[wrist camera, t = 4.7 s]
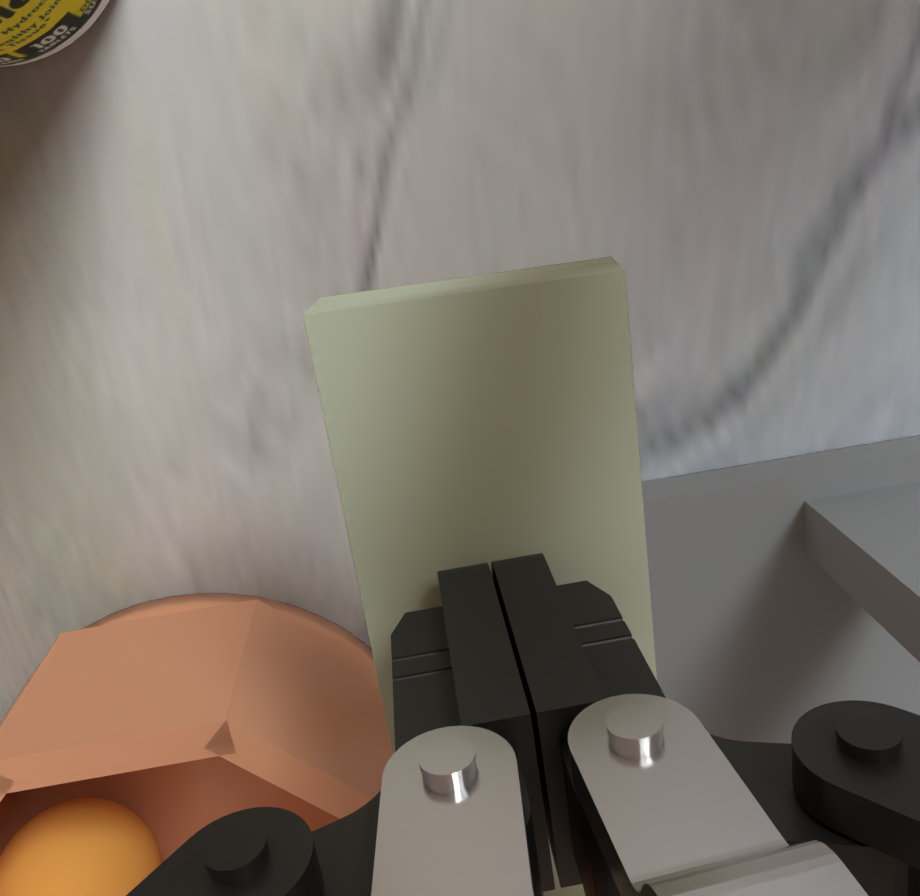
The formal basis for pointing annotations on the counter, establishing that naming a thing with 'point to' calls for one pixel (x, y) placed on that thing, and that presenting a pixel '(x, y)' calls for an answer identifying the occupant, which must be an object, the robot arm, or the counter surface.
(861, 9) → the counter surface
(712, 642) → the chute stand
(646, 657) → the chute
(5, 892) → the ball
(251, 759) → the orange octagonal bowl
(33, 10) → the pill bottle
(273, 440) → the counter surface
